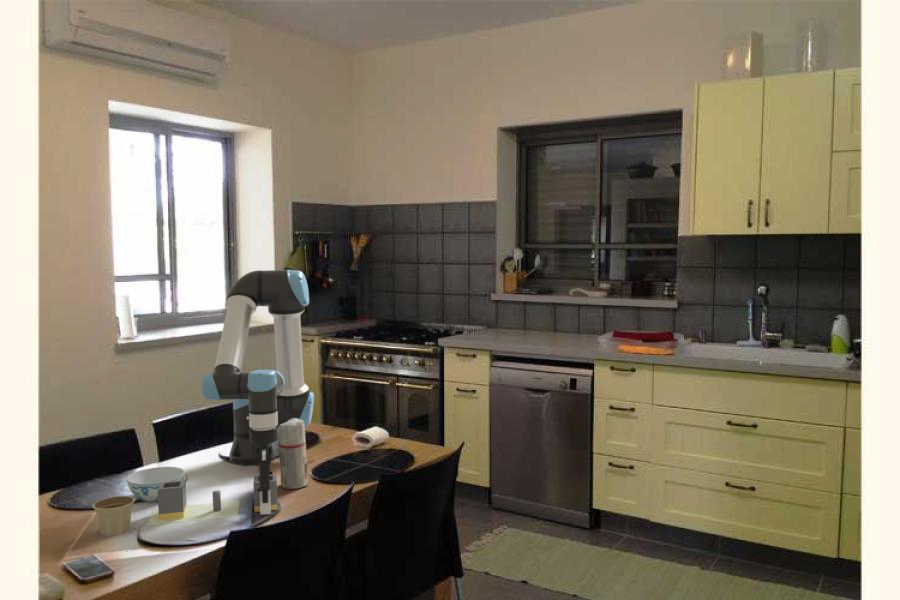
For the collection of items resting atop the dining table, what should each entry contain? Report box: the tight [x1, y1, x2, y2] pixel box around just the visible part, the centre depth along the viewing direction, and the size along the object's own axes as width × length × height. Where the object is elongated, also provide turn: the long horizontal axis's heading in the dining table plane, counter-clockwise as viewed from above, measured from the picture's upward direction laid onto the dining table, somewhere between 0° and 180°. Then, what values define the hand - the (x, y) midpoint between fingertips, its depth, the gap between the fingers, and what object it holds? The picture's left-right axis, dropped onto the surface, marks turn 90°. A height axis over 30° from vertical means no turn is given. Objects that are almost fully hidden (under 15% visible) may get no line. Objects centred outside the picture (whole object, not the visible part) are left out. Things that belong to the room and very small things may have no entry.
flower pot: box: [92, 495, 136, 537], centre depth 171 cm, size 9×9×9 cm
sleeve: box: [253, 473, 278, 513], centre depth 190 cm, size 6×6×8 cm
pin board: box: [146, 490, 241, 527], centre depth 183 cm, size 12×22×6 cm, turn 104°
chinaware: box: [126, 466, 185, 503], centre depth 195 cm, size 15×15×8 cm
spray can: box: [277, 418, 309, 490], centre depth 207 cm, size 8×8×20 cm
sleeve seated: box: [157, 479, 188, 520], centre depth 181 cm, size 6×6×8 cm
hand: (266, 506), depth 190 cm, fingers open, 11 cm apart
